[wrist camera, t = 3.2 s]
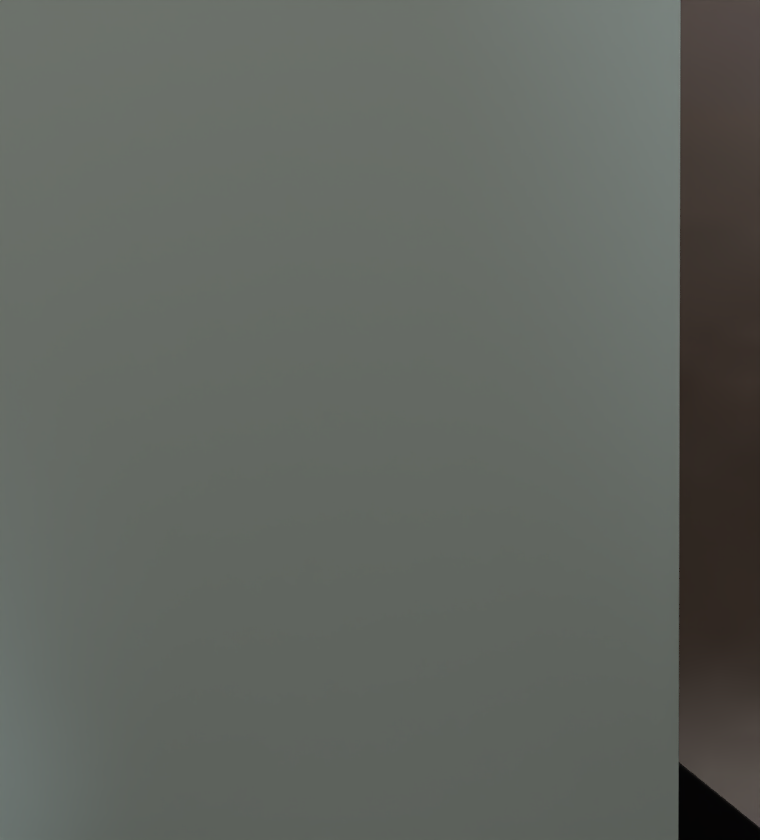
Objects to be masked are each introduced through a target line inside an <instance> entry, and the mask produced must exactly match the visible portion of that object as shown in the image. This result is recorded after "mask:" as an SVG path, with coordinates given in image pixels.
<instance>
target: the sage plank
mask: <svg viewBox="0 0 760 840" xmlns="http://www.w3.org/2000/svg"><path fill="white" fill-rule="evenodd" d="M680 3H681V0H0V840H678V790H679V396H680Z"/></svg>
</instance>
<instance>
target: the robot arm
mask: <svg viewBox="0 0 760 840" xmlns="http://www.w3.org/2000/svg"><path fill="white" fill-rule="evenodd" d="M678 840H760V827H758V826H757V825H756V824H755V823H753V822H752V821H751V820H750V819H748V818H747V817H746V816H745V815H744V814H742V813H741V812H740V811H739V810H737V809H736V808H735V807H734V806H732V805H731V804H730V803H729V802H727V801H726V800H725V799H724V798H722V797H721V796H720V795H719V794H718V793H716V792H715V791H714V790H713V789H711V788H710V787H709V786H708V785H706V784H705V783H704V782H703V781H701V780H700V779H699V778H698V777H697V776H695V775H694V774H693V773H692V772H690V771H689V770H688V769H687V768H685V767H684V766H683V765H682V764H680V763H679V790H678Z"/></svg>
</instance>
